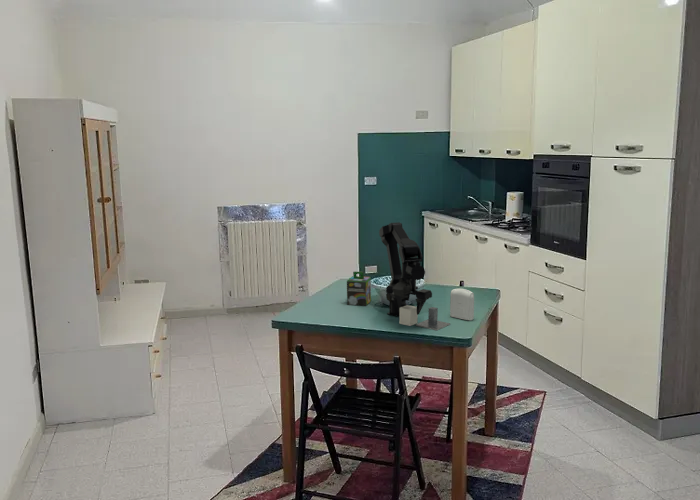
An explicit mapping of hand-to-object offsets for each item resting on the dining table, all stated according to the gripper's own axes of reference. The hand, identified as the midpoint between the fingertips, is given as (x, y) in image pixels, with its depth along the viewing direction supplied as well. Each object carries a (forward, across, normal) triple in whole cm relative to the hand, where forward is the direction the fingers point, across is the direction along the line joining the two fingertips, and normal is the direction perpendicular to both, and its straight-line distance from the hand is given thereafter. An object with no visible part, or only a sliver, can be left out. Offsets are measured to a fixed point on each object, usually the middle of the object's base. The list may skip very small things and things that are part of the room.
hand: (408, 312), depth 256 cm
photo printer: (+5, +13, +20) cm, 24 cm away
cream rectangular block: (+4, 0, 0) cm, 5 cm away
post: (+4, +9, +4) cm, 11 cm away
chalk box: (+5, -35, +12) cm, 37 cm away
